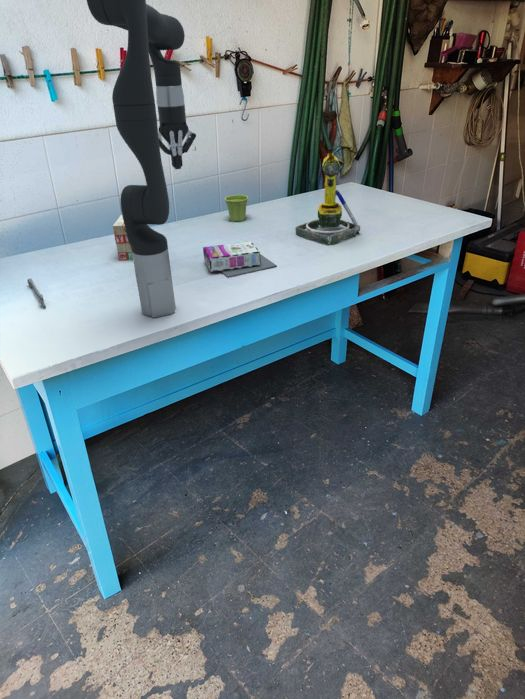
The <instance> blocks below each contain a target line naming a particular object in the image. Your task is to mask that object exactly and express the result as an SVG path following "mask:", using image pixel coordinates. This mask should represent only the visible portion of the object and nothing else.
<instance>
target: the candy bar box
mask: <svg viewBox="0 0 525 699" xmlns="http://www.w3.org/2000/svg"><path fill="white" fill-rule="evenodd" d="M202 250H203V259H204V262H205V264H206V266H207V268H208V270H209V271H210V273H214V272H215V273H216V272H220V271H223V270H230V269H238V268H246V267H253V266H260V265H261V261H260V260H261V258H260V254H261V251H260V250H259V249H258V248H257V247H256V245H255V244H254V243H253V241H251V240H250V241H243V242H242V241H241V242H236V243H234V242H233V243H228V244H227V243H225V244H218V245H217V244H216V245H212V246H211V245H210V246H204V247H202Z"/></svg>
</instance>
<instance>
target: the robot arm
mask: <svg viewBox="0 0 525 699" xmlns="http://www.w3.org/2000/svg"><path fill="white" fill-rule="evenodd" d="M86 4H87V8H88V10H89V12H90V14H91V16H92V17H93V18H94V19H95V21H97V23H100V24H101V25H103V26H104V25H105V26H113V27H117V28H119V29H122V30H125V31H127V37H128V38H127V49H126V54H125V59H124V61H123V63H122V66H121V69H120V71H119V73H118V76H117V77H116V80H115V84H114V87H113V90H112V98H111V100H112V104H113V105H112V106H113V113H114V117H115V123H116V128H117V131H118V133H119V135H120V137H121V139H122V140H123V142H124V143H125V144H126V145H127V147H128V148H129V150H131V152H132V153H133V155H134V156H135V158H136V159H137V161H138V163H139V165H140V167H141V169H142V171H143V175H144V179H145V183H146V185H144V184H143V185H141V184H129V185H126V186H124V187H123V189H122V191H121V193H120V210H121V214H122V216H123V220H124V225H125V229H126V234H127V238H128V242H129V244H130V246H131V250H132V256H133V260H132V261H133V266H134V273H135V278H136V279H135V280H136V285H137V286H136V287H137V291H138V296H139V302H140V307H141V313H142V314H144V315H145V316H149V317H150V318H153V319H154V318H158V317H163V316H167V315H171V314H176V313H175V311H176V308H177V307H176V306H177V305H176V299H175V292H174V284H173V279H172V278H173V276H172V269H171V268H172V266H171V262H170V260H171V259H170V253H169V244H168V239H167V238H166V236H165V235H164V234H162V233H160V232H158V231H156V230H154V229H153V228H152V227H150V226H149V225H153V226H154V225H157V226H158V225H163V224H165V223H167V221H168V219H169V215H170V199H169V193H168V189H167V188H168V187H167V181H166V177H165V172H164V166H163V162H162V156H161V150H162V151H163V153H165V154H166V155H170V161H171V166H172V168H173V169H174V170H182V167H183V166H184V165H183V154H185V153H188V151H189V150H190V148H191V146H192V145H193V143H194V141H195V140H196V137H197V134H196V133H195V132H192V131H191V130H190V129H189V126H188V124H187V115H186V114H187V113H186V104H185V95H184V90H183V84H182V83H183V82H182V74H181V71H182V70H181V66H180V63H179V62H178V61H175V60H172V59H168V58H165V57H164V55H163V53H162V51H176V50H179V49H180V48H181V47H182V46H183V45H184V43H185V30H184V27H183V25H182V23H181V22H180V21H179V19H177V18H176V17H174V16H171V15H168V14H164V13H161V12H159V11H158V10H157V9H155V7H153V6H151V5H149V4H147V1H146V0H86ZM150 60H151V62H150ZM151 64H152V67H153V72H154V80H155V86H156V87H155V92H156V93H154V87H153V78H152V71H151ZM155 96H156V101H155ZM156 105H157V108H156ZM157 114H158V115H157ZM157 116H158V118H157ZM158 121H159V125H158ZM185 138H186V139H185ZM184 139H185V141H184ZM163 140H165V142H166V143H167V145H168V147H167V146H166V145H165V143H163ZM183 141H184V143H183Z"/></svg>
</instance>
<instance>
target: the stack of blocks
mask: <svg viewBox="0 0 525 699" xmlns="http://www.w3.org/2000/svg"><path fill="white" fill-rule="evenodd" d="M112 229H113V233H114V234H113V235H114V236H113V237H114V241H115V245H116V251H117V256H118V261H119V262H120V261H133V256H132V250H131V246H130V244H129V242H128V238H127V234H126V229H125V225H124V220H123V216H122V213H121V214H120V215H119V217H118V218H117V220H116V221H115V222H114V223H113V225H112Z"/></svg>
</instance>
